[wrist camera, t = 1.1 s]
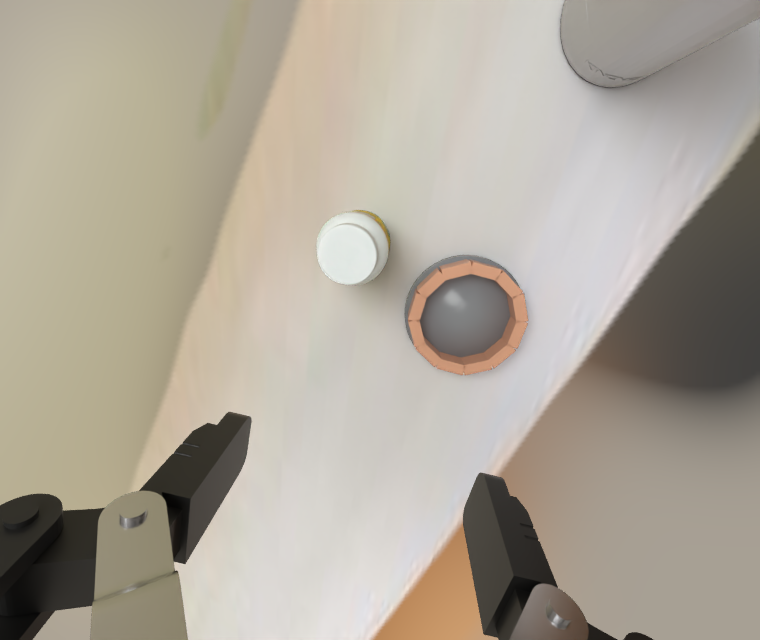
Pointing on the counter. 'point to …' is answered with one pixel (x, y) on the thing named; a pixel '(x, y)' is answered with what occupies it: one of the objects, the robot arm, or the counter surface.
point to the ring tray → (465, 314)
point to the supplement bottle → (353, 247)
